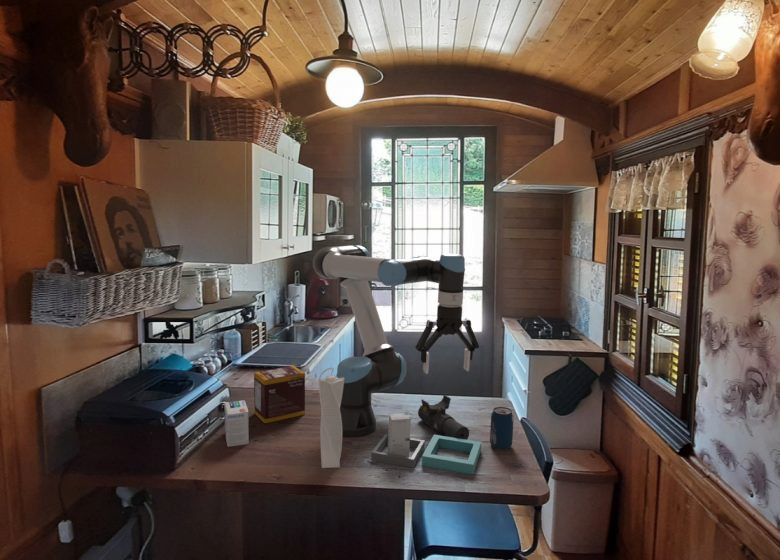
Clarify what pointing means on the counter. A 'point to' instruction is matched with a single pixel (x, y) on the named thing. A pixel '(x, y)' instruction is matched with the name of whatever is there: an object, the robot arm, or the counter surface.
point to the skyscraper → (330, 419)
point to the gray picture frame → (398, 459)
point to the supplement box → (279, 393)
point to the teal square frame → (448, 462)
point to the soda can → (501, 428)
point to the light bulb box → (236, 423)
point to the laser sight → (442, 419)
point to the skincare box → (399, 434)
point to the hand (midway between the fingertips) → (446, 371)
